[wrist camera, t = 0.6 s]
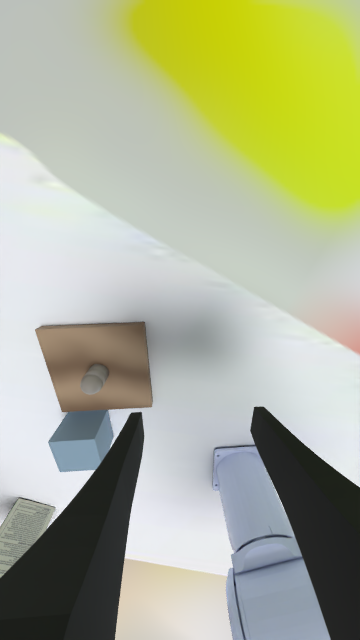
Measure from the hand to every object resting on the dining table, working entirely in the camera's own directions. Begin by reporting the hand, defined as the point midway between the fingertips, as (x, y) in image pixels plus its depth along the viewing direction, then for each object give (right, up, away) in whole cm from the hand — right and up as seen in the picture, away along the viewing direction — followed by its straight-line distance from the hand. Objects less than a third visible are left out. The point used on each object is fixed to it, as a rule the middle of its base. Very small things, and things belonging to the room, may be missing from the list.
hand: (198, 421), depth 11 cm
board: (-10, +1, +10) cm, 14 cm away
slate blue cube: (-13, -8, +12) cm, 20 cm away
